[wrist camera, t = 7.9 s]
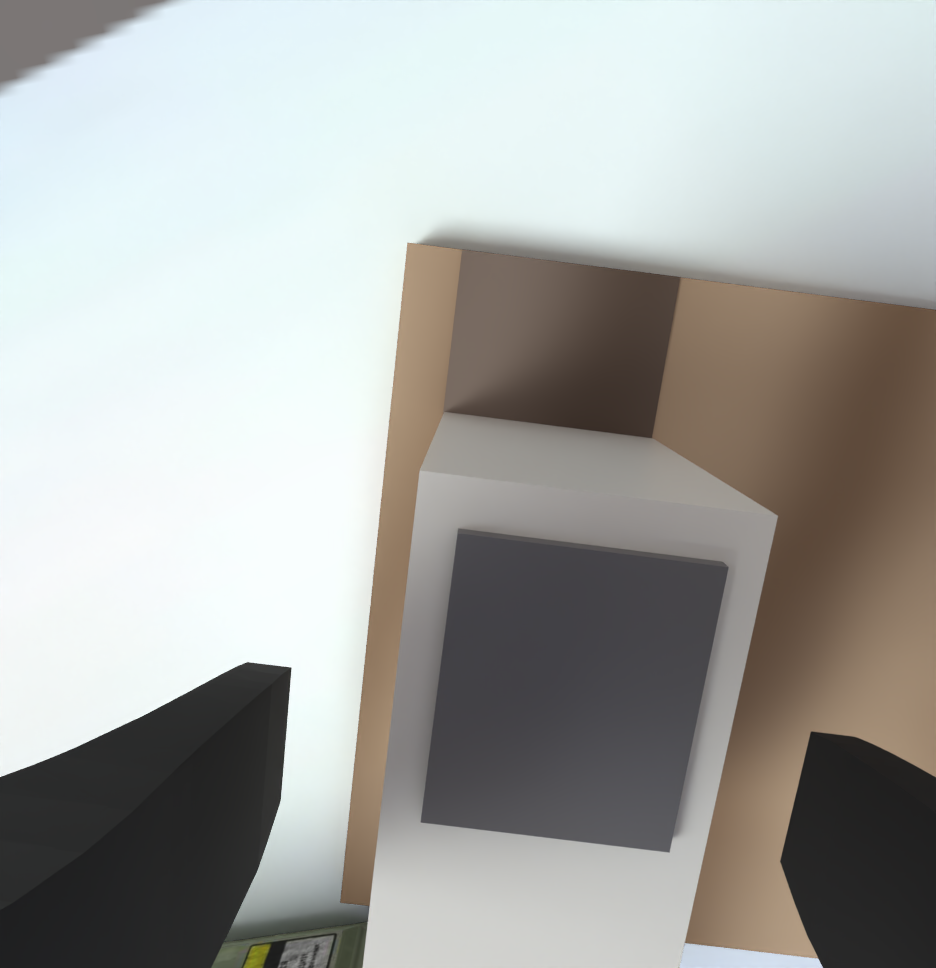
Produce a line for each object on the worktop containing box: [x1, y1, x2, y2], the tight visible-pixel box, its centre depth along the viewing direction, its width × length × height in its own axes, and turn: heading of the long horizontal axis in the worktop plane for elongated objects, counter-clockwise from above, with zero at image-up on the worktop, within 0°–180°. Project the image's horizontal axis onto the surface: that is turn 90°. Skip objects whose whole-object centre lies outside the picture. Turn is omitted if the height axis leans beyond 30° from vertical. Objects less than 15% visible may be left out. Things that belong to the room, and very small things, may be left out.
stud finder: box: [363, 412, 778, 968], centre depth 12 cm, size 4×8×6 cm, turn 173°
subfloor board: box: [340, 243, 936, 959], centre depth 15 cm, size 16×14×1 cm
